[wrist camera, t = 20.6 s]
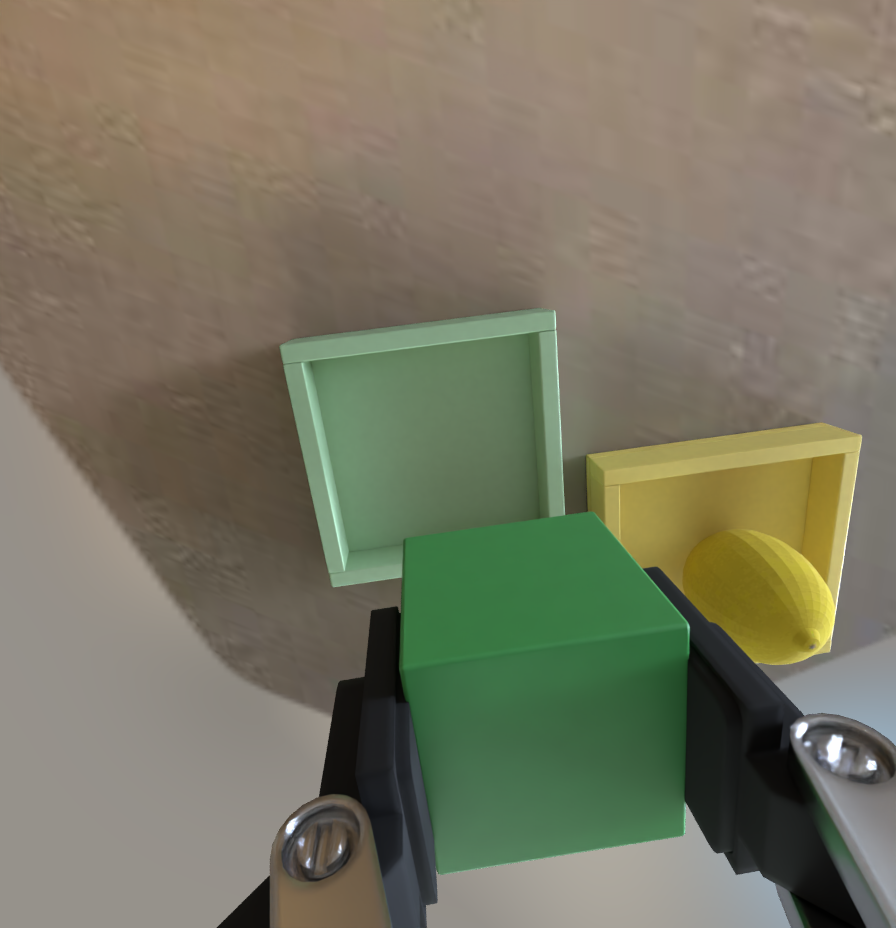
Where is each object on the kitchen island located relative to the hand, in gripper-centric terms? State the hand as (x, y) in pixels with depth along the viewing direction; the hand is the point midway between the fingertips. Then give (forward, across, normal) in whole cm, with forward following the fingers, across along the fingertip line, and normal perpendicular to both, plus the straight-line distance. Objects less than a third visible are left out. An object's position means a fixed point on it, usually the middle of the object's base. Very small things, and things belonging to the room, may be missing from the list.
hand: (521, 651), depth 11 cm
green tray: (+16, +1, 0) cm, 16 cm away
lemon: (+16, -13, +8) cm, 22 cm away
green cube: (+2, 0, 0) cm, 2 cm away
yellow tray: (+16, -13, +8) cm, 22 cm away
